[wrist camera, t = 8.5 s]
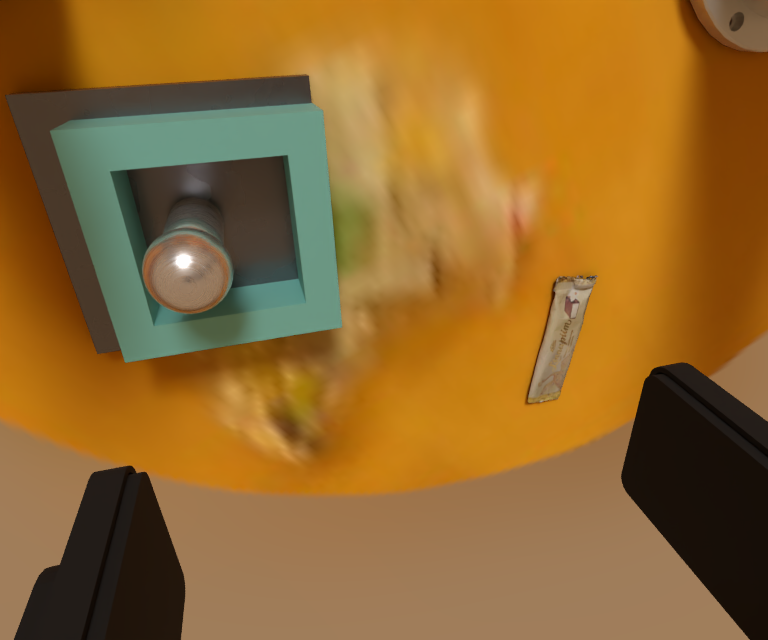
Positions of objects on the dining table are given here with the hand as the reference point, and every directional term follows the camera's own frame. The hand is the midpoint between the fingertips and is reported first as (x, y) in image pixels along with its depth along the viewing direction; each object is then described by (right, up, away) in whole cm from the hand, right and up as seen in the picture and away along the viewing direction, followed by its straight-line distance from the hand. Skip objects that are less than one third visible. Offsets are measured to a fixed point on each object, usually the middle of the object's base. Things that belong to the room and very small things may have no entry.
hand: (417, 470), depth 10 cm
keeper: (-10, +8, +16) cm, 20 cm away
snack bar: (+11, +2, +26) cm, 28 cm away
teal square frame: (-9, +7, +15) cm, 19 cm away
